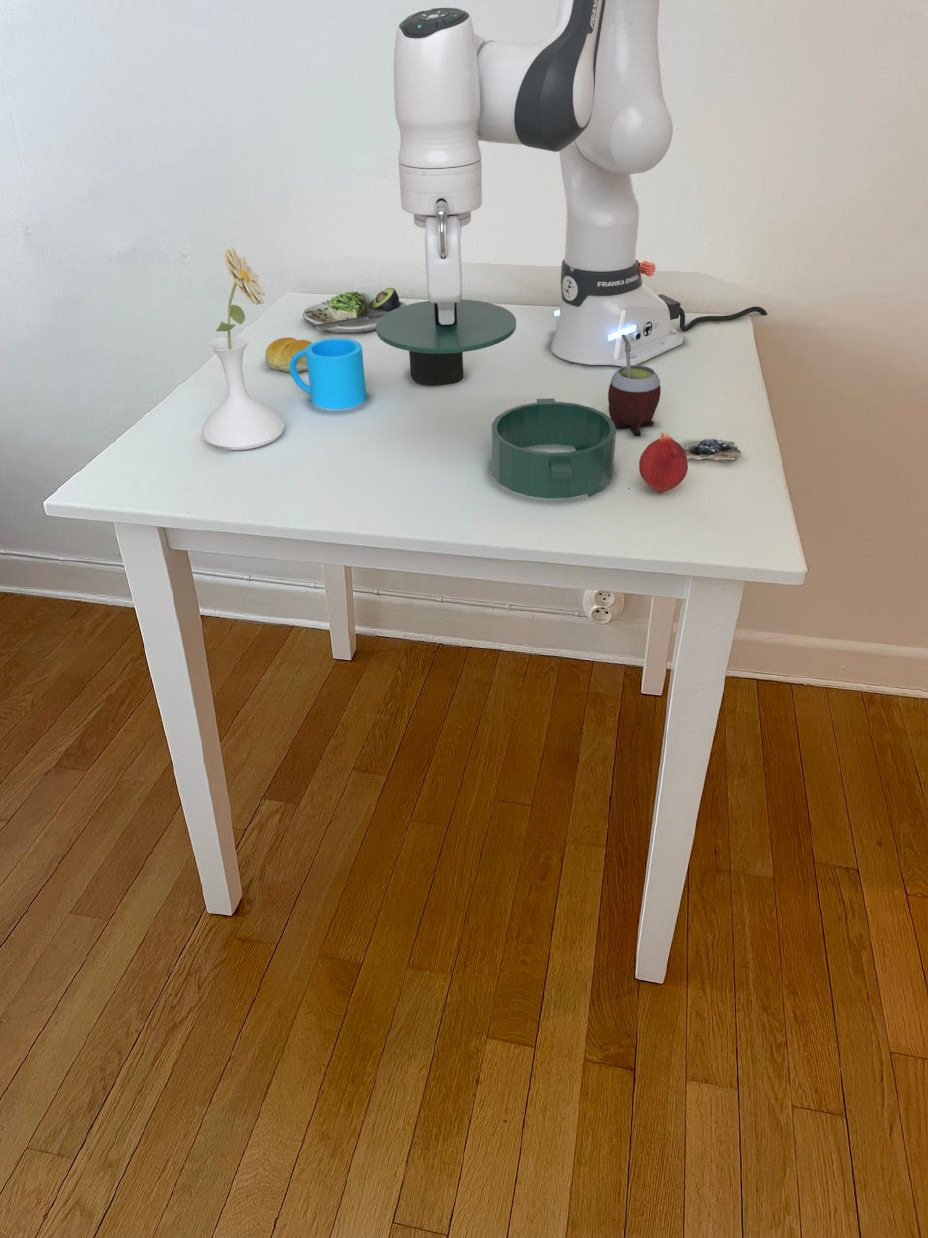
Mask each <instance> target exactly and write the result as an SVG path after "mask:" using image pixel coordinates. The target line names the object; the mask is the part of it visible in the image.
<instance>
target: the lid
mask: <svg viewBox="0 0 928 1238" xmlns="http://www.w3.org/2000/svg"><path fill="white" fill-rule="evenodd" d="M454 318H455V321H454V323H453V324H449V325H442V324H440V323H439V315H438V305H437V303H431V302H430V301H429V300H425V301H419V302H414V303H410V304H406V305H405V306H402V307H399V308H397V309H394V310H392V311H390V312H388V313H386V314H385V315H383V316H382V317H381V318H380V319H379V320H378V322H377V324H376V330H375V332H376V335H377V337H378V339H380V340H381V341H382V342H383V343H385V344H386V345H388V346H390V347H392V348H395V349H399V350H403V351H408V352H409V351H413V352H420V353H436V354H440V353H459V352H463V353H466V352H467V353H468V352H472V351H477V350H482V349H486V348H489V347H493V346H494V345H499V344H500V343H502V342H504V341H506V340H508V338H509V339H510V337H511V336H512V335H513V334H514V333H515V331H516V329H517V319H516V318H517V317H516V316H515V315H514V314H513V313H512V312H511V311H510V310H508V309H507V308H505V307H503V306H500V305H497V304H494V303H490V302H486V301H480V300H474V299H473V300H472V299H463V298H462V299H461V301H459V302H455V304H454Z"/></svg>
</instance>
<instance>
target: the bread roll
mask: <svg viewBox="0 0 928 1238" xmlns="http://www.w3.org/2000/svg"><path fill="white" fill-rule="evenodd" d="M312 343H313V342H312V341H309V340H307V339H296V338H294V337H280V338H278V339H276V340H273V342H271V343H270V344H268V346H267V348H266V349H265V355H264V357H265V362H266V365H267V366H268V367H269V368H270V369H272V370H275V371H282V372H284V373H290V362H291V360H292V357H293V356H294V355H295V354H296V353H298V352H299V351H302V350H305V349H306V347H308V346H309V345H310V344H312ZM296 369H297V372H298V373H301V372H306V371H308V368H307V360H306V355H304V356H302V357H301V358H299V360H298V362H297V368H296Z"/></svg>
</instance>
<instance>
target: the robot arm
mask: <svg viewBox="0 0 928 1238" xmlns="http://www.w3.org/2000/svg"><path fill="white" fill-rule="evenodd" d="M557 7H558V8H557V13H556V19H555V26H554V30H553V32H551V33H550V34H549V35H547V36H546V37H543V38H542V39H539V40H536V41H501V40H499V41H498V40H493V39H491V40H489V39H486V38H485V37H482V36H480V35H478V34H477V33H476V32H475V29H474V24H473V20H472V16H471V15H470V14H469V13H468V12H467V11H466V10H463V9H460V8H456V7H435V8H430V9H427V10H420V11H417V12H415V13H412V14H410V15H407V17H406V18H405V19H403V20H402V21H401V22H400V23H399V25H398V26H397V28H396V33H395V39H394V47H393V48H394V49H393V68H392V69H393V73H392V74H393V79H392V81H393V103H394V115H395V121H396V123H397V126H398V130H399V135H400V136H399V137H400V142H399V149H398V155H397V165H398V176H399V191H400V193H399V194H400V206H401V207H400V208H401V209H402V210H403V211H404V212H406V213H409V214H413V224H414V225H415V226H417V227H418V228H422V229H424V250H425V251H424V252H425V272H426V274H425V275H426V289H427V299H428V301H430V302H431V303H437V305H438V315H439V323H440V324H442V325H449V324H453V323H454V321H455V318H454V304H455V302H459V301H461V299H463V273H462V272H463V270H462V244H461V243H462V241H461V236H462V227H465V226H467V225H469V224H470V223H471V222H472V212H474V211H476V210H478V209H479V208H481V207H482V205H483V173H482V171H483V169H482V152H481V148H480V143H479V142H485V143H490V144H491V143H493V144H507V145H520V146H525V147H528V148H533V149H537V150H544V151H549V152H554V153H558V154H559V162H560V169H561V175H562V185H563V191H564V199H565V200H564V201H565V202H564V203H565V233H564V234H565V237H564V258H563V260H562V261H561V267H560V268H561V269H560V291H561V300H560V305H559V310H555V311H554V317H557V316H558V317H557V323H556V327H555V332H554V335H553V339H552V342H551V345H550V351H551V352H552V353H553V355H555V356H556V357H558V358H560V359H562V360H564V361H566V362H567V361H568V362H570V363H571V362H572V363H575V364H581V365H590V366H615V367H625V366H627V364H626V352H625V342H624V340H623V338H622V336H621V335H622V334H624V335H625V336H626V337H627V338H628V340H629V344H630V345H631V351H630V365H640V364H641V363H643V362H644V363H645V362H646V361H647V360H648V361H649V360H650V359H652V358H655V357H657V356H658V355H662V354H663V353H665V352H668V351H670V350H672V349H675V348H676V347H678V346H681V345H683V344H684V337H683V335H682V334H681V333H680V332H679V331H677V330H676V329H674V328H673V327H671V321H672V320H677V319H679V329H680V330H681V331H682V332H688V331H689V330H691V329H692V328H693V327H694V326H695V325H697V324H700V323H704V322H726V321H727V322H728V321H733V320H737V319H739V318H743V317H744V316H747V315H749V314H751V313H754V312H757V313H759V314H760V315H761V316H767V315H768V312H767V311H766V310H765V309H764V308H763V307H761V306H751V307H748V308H745V309H742V310H741V311H738V312H736V313H733V314H728V315H704V316H699V317H695V318H694V319H692V320H691V321H689V323H688V324H686V313H685V311H684V309H683V308H682V307H681V302H680V301H677V300H675V299H673V298H671V297H669V296H667V295H665V294H663V293H661V294H656V293H655V292H654V291H653V290H651V289H650V288H649V287H648V286H647V285H645V284H644V283H643V277H642V275H645V276H647V277H653V275H655V273H656V270H657V268H656V267H657V265H656V264H655V263H654V262H649V261H648V260H643V261H642V262H640V261H639V260H638V259H637V247H638V235H639V226H640V225H639V224H640V205H639V202H638V199H637V197H636V194H635V190H634V186H633V181H632V175H634V174H636V175H637V174H642V173H646V172H648V171H650V170H652V169H654V168H655V167H656V166H657V165H658V164H659V163H660V162H661V161H662V160H663V159H664V157H665V156H666V154H667V152H668V151H669V148H670V146H671V143H672V139H673V131H674V129H673V128H674V125H673V119H672V115H671V113H670V111H669V109H668V107H667V105H666V101H665V97H664V92H663V86H662V85H663V84H662V76H661V74H662V73H661V67H660V66H661V65H660V57H659V41H658V24H659V23H658V22H659V10H660V0H559V1H558V6H557Z"/></svg>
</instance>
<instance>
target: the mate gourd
mask: <svg viewBox="0 0 928 1238" xmlns="http://www.w3.org/2000/svg"><path fill="white" fill-rule="evenodd" d="M621 336H622V338H623V340H624V342H625V352H626V364H627V366H625V367H622V366H620V368H618V369H617V370H616V371H615V372H614V374H613V375H612V377H611V379H610V383H609V386H608V392H607V401H608V413H609V418H610V419H611V420H612V421H613V422H614V425H615V427H616V431H617V430H627V429H628V430H630V432H631V433H632V434H633V435H634V437H641V436H642V432H641V430H640V428H646V427H647V428H648V427H654V420H653V419H654V415H655V413H656V411H657V408H658V406H659V402H660V399H661V392H662V391H661V390H662V388H661V387H662V386H661V380H660V377H659V375H658V374H657V372H656V371H655V370H654V369H653V368H651V367H649V366H646V365H645V366H644V365H640V364H637V365H630V351H631V345H630V344H629V340H628V338H627V337H626V336H625V335H624V334H622V335H621Z"/></svg>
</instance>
